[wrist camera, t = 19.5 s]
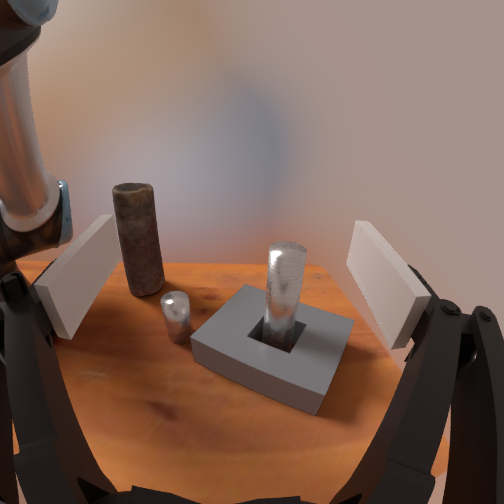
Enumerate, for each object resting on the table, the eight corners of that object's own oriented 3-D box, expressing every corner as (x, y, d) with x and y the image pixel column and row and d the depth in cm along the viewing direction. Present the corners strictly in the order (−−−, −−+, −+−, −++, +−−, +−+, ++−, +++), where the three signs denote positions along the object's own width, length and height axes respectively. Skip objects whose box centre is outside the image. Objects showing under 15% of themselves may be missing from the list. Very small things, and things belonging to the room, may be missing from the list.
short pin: (163, 336, 40) (154, 301, 36) (179, 322, 43) (173, 287, 39) (182, 347, 38) (175, 312, 35) (198, 332, 41) (194, 297, 38)
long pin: (255, 359, 37) (262, 252, 29) (268, 341, 40) (278, 238, 32) (281, 369, 35) (298, 263, 27) (293, 351, 38) (311, 247, 30)
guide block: (194, 360, 36) (190, 336, 33) (245, 307, 47) (245, 284, 44) (315, 415, 28) (325, 395, 26) (346, 343, 39) (354, 320, 37)
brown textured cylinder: (139, 274, 54) (124, 180, 45) (171, 277, 54) (160, 179, 44) (123, 295, 48) (102, 192, 38) (157, 300, 47) (140, 191, 38)
